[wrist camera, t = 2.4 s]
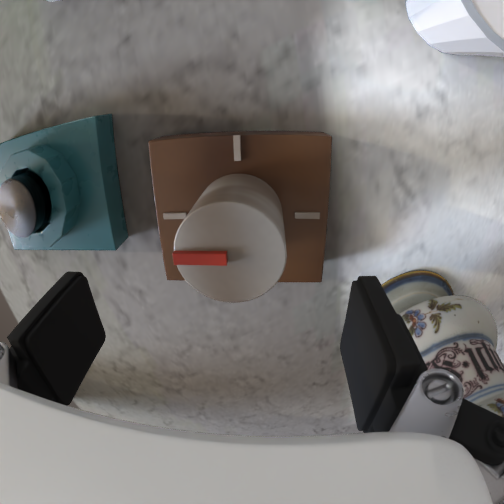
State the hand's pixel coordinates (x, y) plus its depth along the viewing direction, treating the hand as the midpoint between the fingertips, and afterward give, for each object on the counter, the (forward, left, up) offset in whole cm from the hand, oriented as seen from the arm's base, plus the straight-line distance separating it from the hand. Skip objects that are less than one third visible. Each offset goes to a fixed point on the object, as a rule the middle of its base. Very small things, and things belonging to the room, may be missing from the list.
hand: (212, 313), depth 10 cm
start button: (+14, -2, -7) cm, 16 cm away
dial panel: (0, 0, -11) cm, 11 cm away
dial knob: (0, 0, -8) cm, 8 cm away
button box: (+14, -2, -11) cm, 18 cm away
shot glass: (-14, -14, -11) cm, 23 cm away
